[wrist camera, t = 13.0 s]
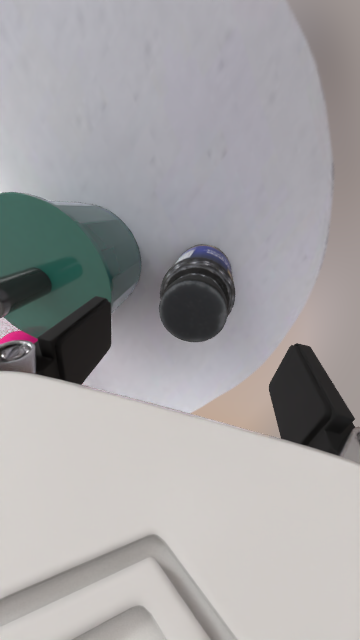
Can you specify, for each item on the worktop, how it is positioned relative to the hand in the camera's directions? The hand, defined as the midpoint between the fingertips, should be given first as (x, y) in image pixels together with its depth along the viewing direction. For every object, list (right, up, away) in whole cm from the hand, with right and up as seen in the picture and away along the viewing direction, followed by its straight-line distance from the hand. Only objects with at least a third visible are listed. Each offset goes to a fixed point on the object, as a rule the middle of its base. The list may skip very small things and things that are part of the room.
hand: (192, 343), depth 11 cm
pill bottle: (+2, +7, +13) cm, 15 cm away
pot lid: (-12, +5, +7) cm, 15 cm away
